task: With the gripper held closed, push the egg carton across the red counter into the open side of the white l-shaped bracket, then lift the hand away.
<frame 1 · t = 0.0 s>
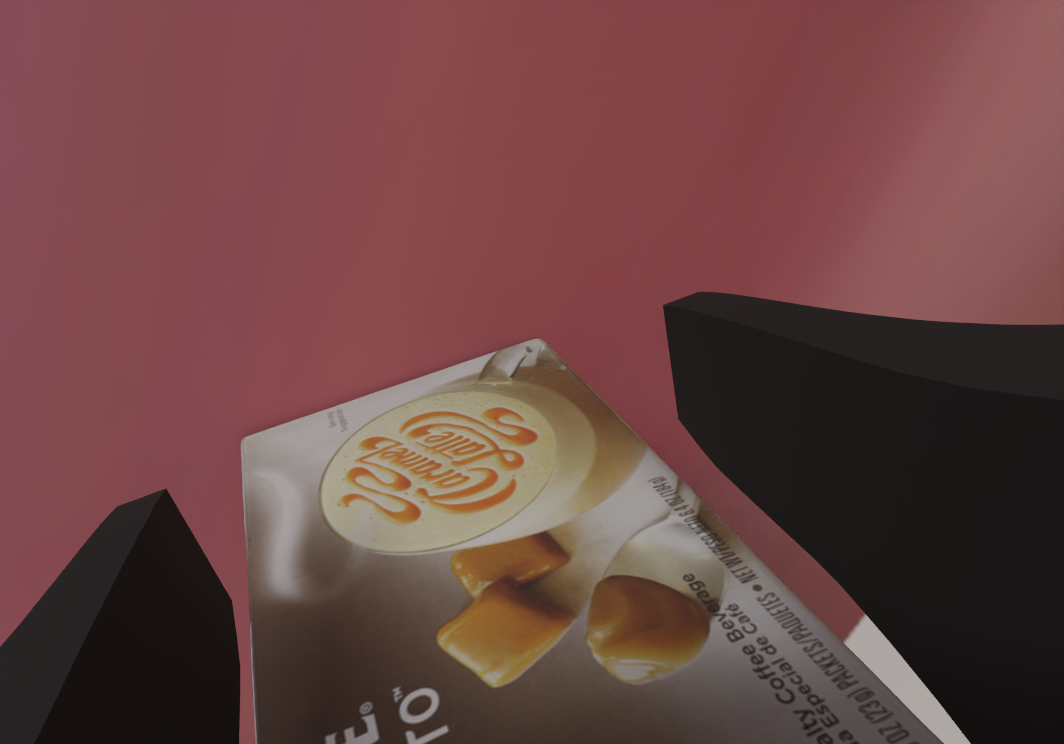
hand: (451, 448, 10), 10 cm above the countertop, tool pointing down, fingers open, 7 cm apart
coffee box: (427, 462, 23), on the countertop
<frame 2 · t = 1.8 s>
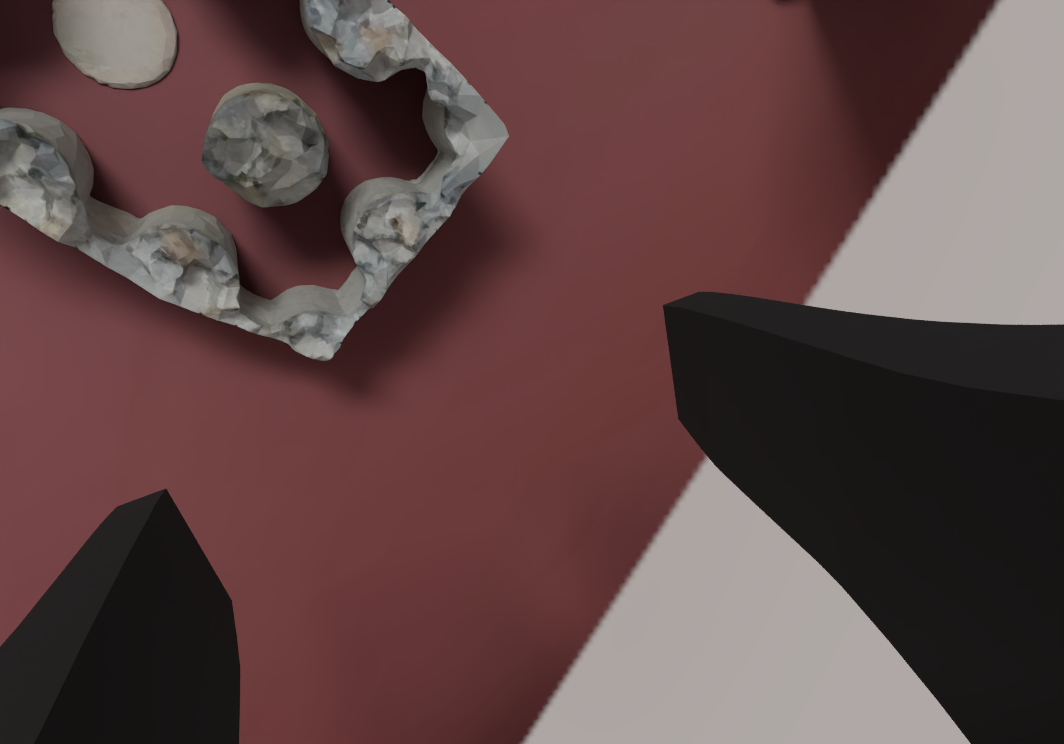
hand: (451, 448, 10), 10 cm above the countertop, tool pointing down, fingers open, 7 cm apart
egg carton: (200, 77, 16), on the countertop
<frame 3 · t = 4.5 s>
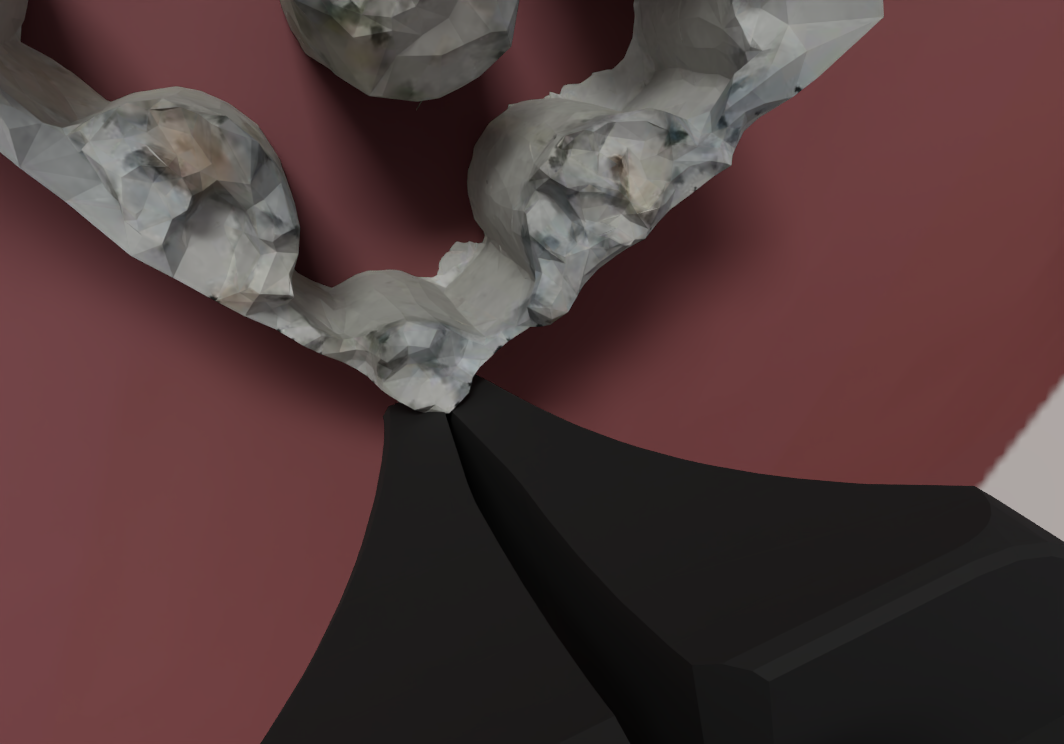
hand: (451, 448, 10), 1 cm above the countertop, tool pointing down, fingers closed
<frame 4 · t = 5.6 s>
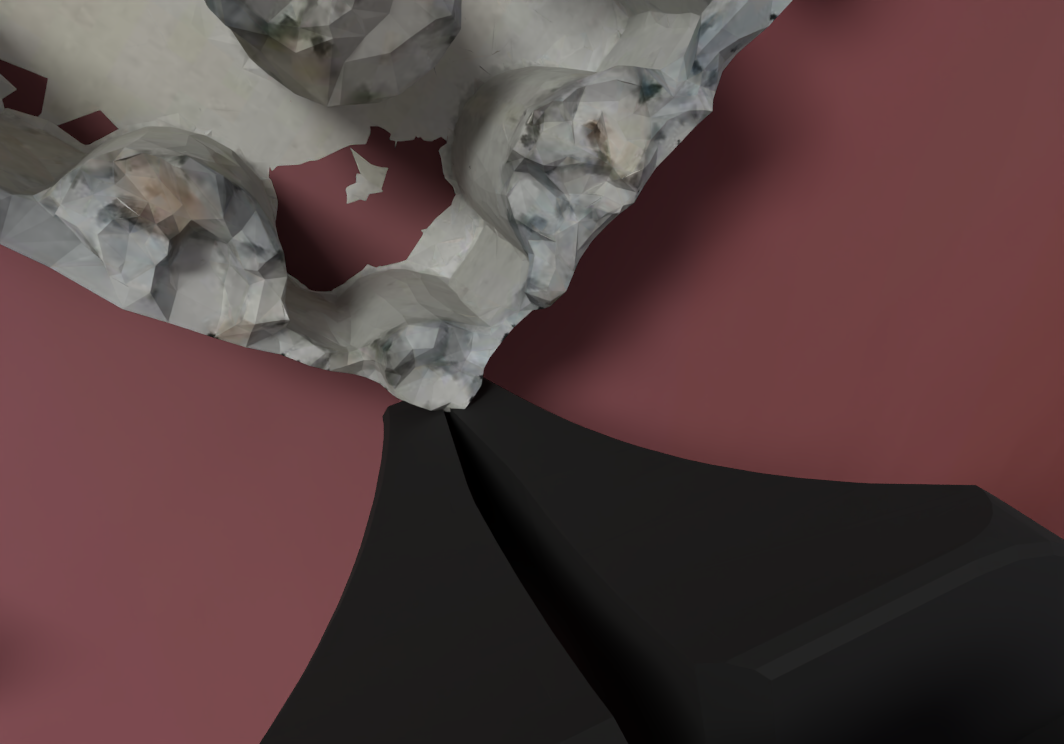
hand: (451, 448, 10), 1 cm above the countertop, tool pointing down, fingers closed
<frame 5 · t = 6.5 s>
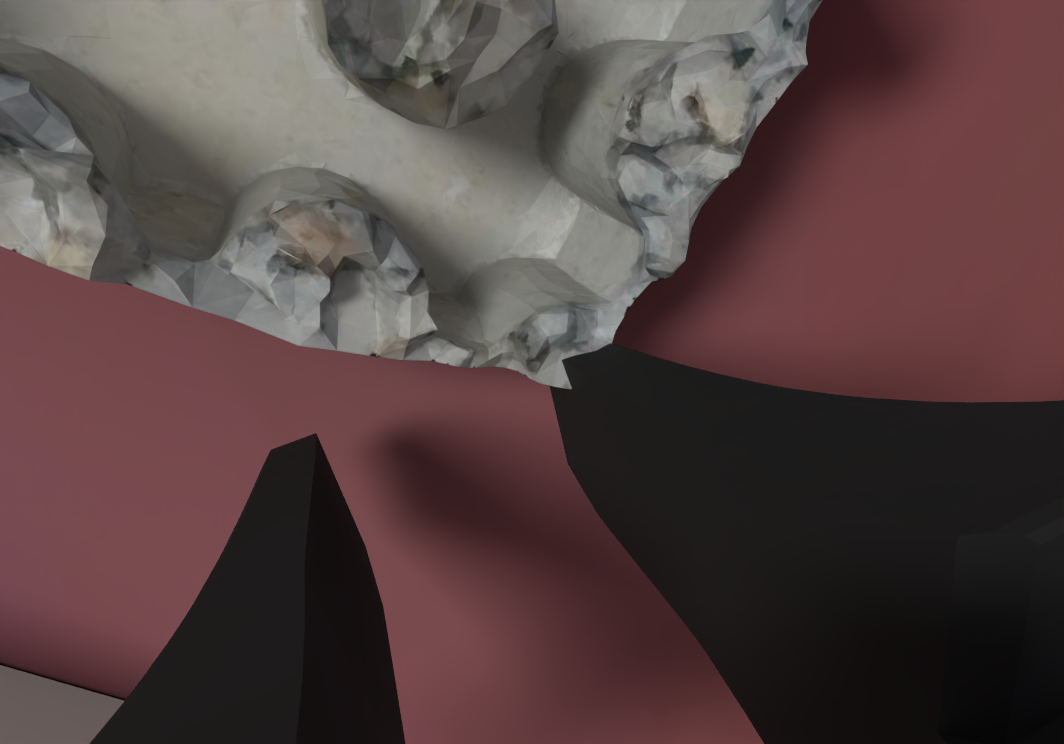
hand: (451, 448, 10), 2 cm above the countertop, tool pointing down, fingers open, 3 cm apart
white l-shaped bracket: (87, 136, 9), on the countertop
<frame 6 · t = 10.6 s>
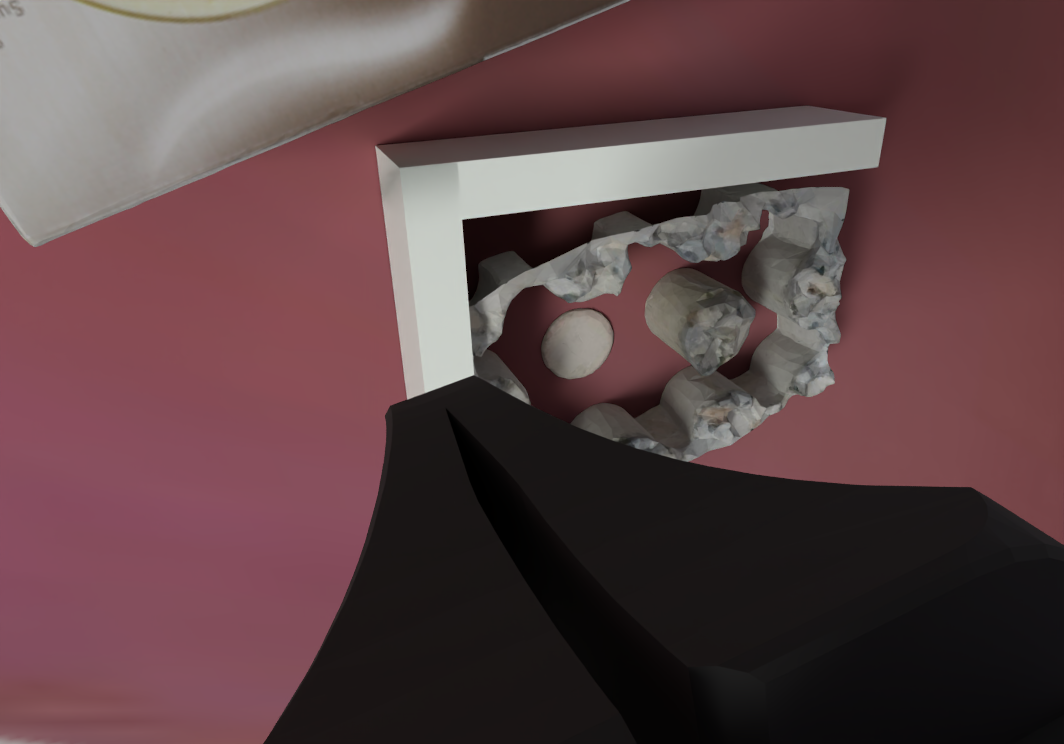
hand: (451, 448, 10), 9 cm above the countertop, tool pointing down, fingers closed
white l-shaped bracket: (625, 411, 23), on the countertop
egg carton: (621, 313, 22), on the countertop
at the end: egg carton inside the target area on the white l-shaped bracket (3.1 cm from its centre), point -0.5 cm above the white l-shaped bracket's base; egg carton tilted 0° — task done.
